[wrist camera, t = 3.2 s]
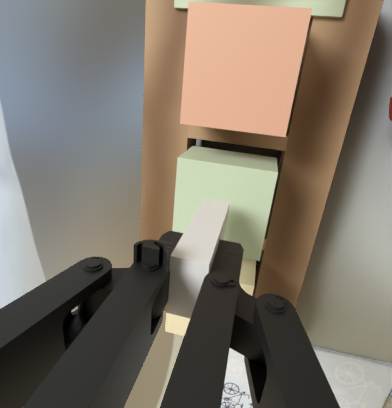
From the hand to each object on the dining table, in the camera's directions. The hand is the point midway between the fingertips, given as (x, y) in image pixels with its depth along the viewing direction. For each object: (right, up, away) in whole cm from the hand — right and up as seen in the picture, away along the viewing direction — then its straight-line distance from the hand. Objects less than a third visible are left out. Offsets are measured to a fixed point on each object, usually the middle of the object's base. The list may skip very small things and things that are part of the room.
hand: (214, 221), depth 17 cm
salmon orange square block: (+2, +9, +2) cm, 10 cm away
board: (+2, +3, +8) cm, 9 cm away
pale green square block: (+1, +2, +5) cm, 6 cm away
